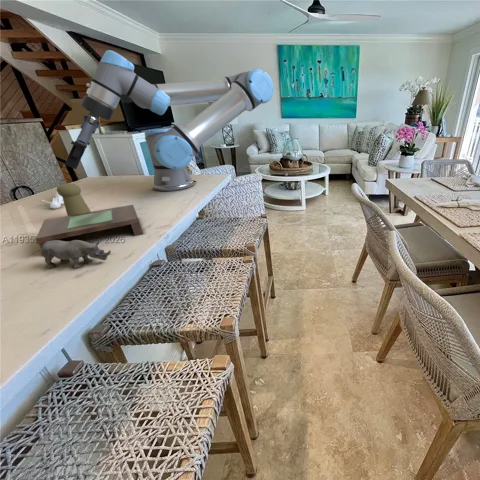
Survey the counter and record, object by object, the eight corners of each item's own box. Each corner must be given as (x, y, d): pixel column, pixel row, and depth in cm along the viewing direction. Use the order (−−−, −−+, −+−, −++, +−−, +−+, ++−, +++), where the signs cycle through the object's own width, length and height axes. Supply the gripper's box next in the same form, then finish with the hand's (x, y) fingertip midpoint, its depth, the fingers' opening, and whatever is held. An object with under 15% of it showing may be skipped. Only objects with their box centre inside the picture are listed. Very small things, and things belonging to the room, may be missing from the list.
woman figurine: (84, 182, 104) (72, 197, 90) (89, 193, 106) (77, 209, 93) (46, 185, 99) (26, 202, 86) (51, 196, 102) (33, 215, 88)
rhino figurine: (108, 268, 57) (98, 243, 55) (42, 270, 57) (28, 245, 54) (120, 258, 61) (111, 235, 58) (58, 260, 60) (46, 236, 58)
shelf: (137, 218, 83) (132, 203, 81) (143, 233, 73) (137, 217, 71) (52, 235, 72) (43, 219, 70) (45, 256, 62) (35, 237, 60)
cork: (92, 214, 86) (78, 180, 81) (95, 219, 82) (80, 184, 77) (68, 218, 82) (52, 184, 77) (70, 224, 78) (53, 188, 73)
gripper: (86, 95, 88) (59, 152, 90) (83, 92, 71) (50, 163, 72) (112, 109, 94) (87, 163, 95) (116, 110, 76) (85, 176, 77)
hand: (71, 163), depth 83 cm, fingers open, 13 cm apart
